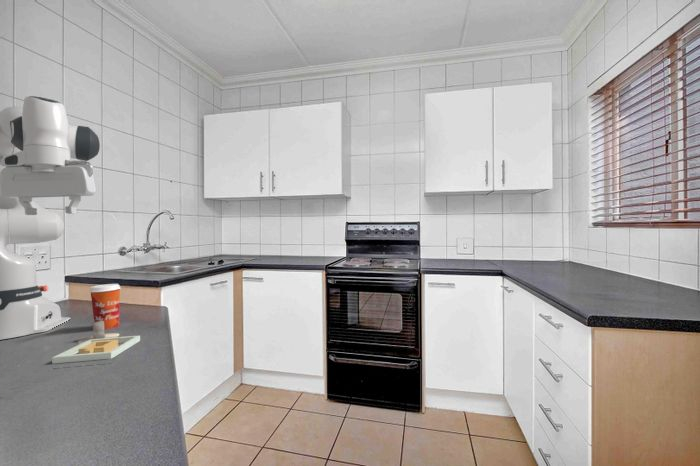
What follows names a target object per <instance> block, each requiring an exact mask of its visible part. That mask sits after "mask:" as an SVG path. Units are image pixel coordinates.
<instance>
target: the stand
mask: <svg viewBox="0 0 700 466" xmlns="http://www.w3.org/2000/svg"><path fill="white" fill-rule="evenodd" d="M114 337H120V333H118V332H109V333H108V332H107V333H105V330H104V321H98V322H92V336H88V337H85V338H82V339H80V340H79V341H77V345H79V344H82V343H84V342H86V341H88V340H90V339H102V338H114Z"/></svg>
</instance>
